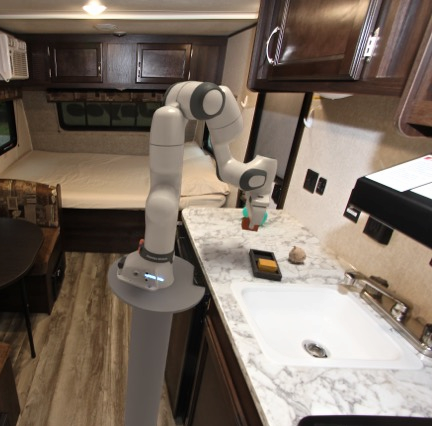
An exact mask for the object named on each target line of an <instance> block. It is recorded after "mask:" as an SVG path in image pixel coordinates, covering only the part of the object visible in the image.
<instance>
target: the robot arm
mask: <svg viewBox="0 0 432 426" xmlns="http://www.w3.org/2000/svg"><path fill="white" fill-rule="evenodd" d="M190 120H192V121H201V122H202V121H203V122H204V121H205V124H206V127H207V128H208V129H207V130H208V131H209V144H210V147H211V148H210V149H211V151H212V155H213V157H214V162H215V176H216V178H217V180H219V182H222V183H224V184H227V185H230V186H232V187H234V188H236V189H239V190H241V191H243V192H245V194H244V198H245V199H246V201H245V206H246V209H247V212H248V216H247V217H248V218H249V219H250V223H249V228H250V229H253V228H254V225H259V226H261V225H262V224H261V223H262V221H263V218H264V216H265V213H266V212H267V209H268V208H269V207H270V205H271V200H270V198H271V193H272V188H273V187H272V185H273V182H274V181H275V178H276V174H277V171H278V170H277V169H278V160H277V158H276V157H274V156H271V155H267V154H264V153H259V154H256V156H255V158H253V159H251V161H249V162H246V163H244V162H241V161H239V160H237V159H236V158H235V157H233V156H232V153H231V149H230V144H231V143H233V142H235V141H236V140H237V139H238V138H240V136H241V135H242V133H243V131H244V128H245V123H244V118H243V115H242V112H241V109H240V107H239V103H238V102H237V100H236V98H235V96H234V94H233V92H232V90H231V89H230V88H229V87H228V86H227V85H217V84H216V83H214V82H209V81H204V82H203V81H196V80H187V81H178V82H176V83H173V84H171V85H170V86H169V87H168V88H167V89H166V91H165V93H164V95H163V98H162V102H161V105H160V107H159V108H157V109H156V110H155V112H154V113H153V115H152V119H151V124H150V131H149V142H148V143H149V147H148V169H149V179H150V180H149V182H150V183H149V184H150V187H149V192H148V195H147V196H146V199H145V207H144V219H145V223H144V224H145V230H144V238H141V239H140V240H139V245H138V249H137V250H135V251H133V252H130V253H128V254H129V255H128V256H127V258H126V256H125V255H121V256H120V258H121V260H120V261H119V263H118V267H119V268H118V271H117V279H118V280H119V281H122V282H125V283H128V284H130V285H133V286H136V287H139V288H142V289H145V290H147V291H150V292H155V291H157V290H158V289H162V288H166V287H168V286H170V285H171V284H172V283H173V282H174V276H173V268H172V263H173V261H174V255H175V253H176V251H175V249H176V248H175V242H176V234H177V225H178V217H179V209H180V203H181V196H182V184H183V183H182V181H183V167H184V166H183V164H184V151H185V136H186V135H185V134H186V133H185V131H186V127H187V125H188V123H189V121H190ZM260 224H261V225H260Z"/></svg>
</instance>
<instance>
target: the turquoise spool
mask: <svg viewBox="0 0 432 426" xmlns="http://www.w3.org/2000/svg"><path fill="white" fill-rule="evenodd" d="M247 216H248V212H247V209H246V205H245V206H244V207H243V208H242V217H247ZM267 220H268V212H267V211H266V213H265V216H264V218H263V221H262V223H261V224H260V225H259V226H261V225H263V224H265V222H266V221H267Z"/></svg>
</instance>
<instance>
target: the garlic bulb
mask: <svg viewBox="0 0 432 426" xmlns="http://www.w3.org/2000/svg"><path fill="white" fill-rule="evenodd" d="M288 258H289V260H290V261H291V262H293V263H303V262H304V261H305V260H306V259H307V253H306V252H305V250H304V249H302V248H300V247H298V246H296V245H293V246H292V248H291V250H290V251H289V253H288Z"/></svg>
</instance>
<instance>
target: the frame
mask: <svg viewBox="0 0 432 426" xmlns="http://www.w3.org/2000/svg"><path fill="white" fill-rule="evenodd" d="M248 256H249V260H250V264H251V269H252V273H253V277H254V278H259V279H264V280H270V281H276V282H282V279H283V274H282V271H281V269H280V266H279V263H278V261H277V258H276V255H275V253H274V252H273V251H268V250H262V249H256V248H249V251H248ZM259 259H265V260H271V261H275V263H276V265H277V270H276V273H269V272H263V271H258V269H257V264H258V260H259Z"/></svg>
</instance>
